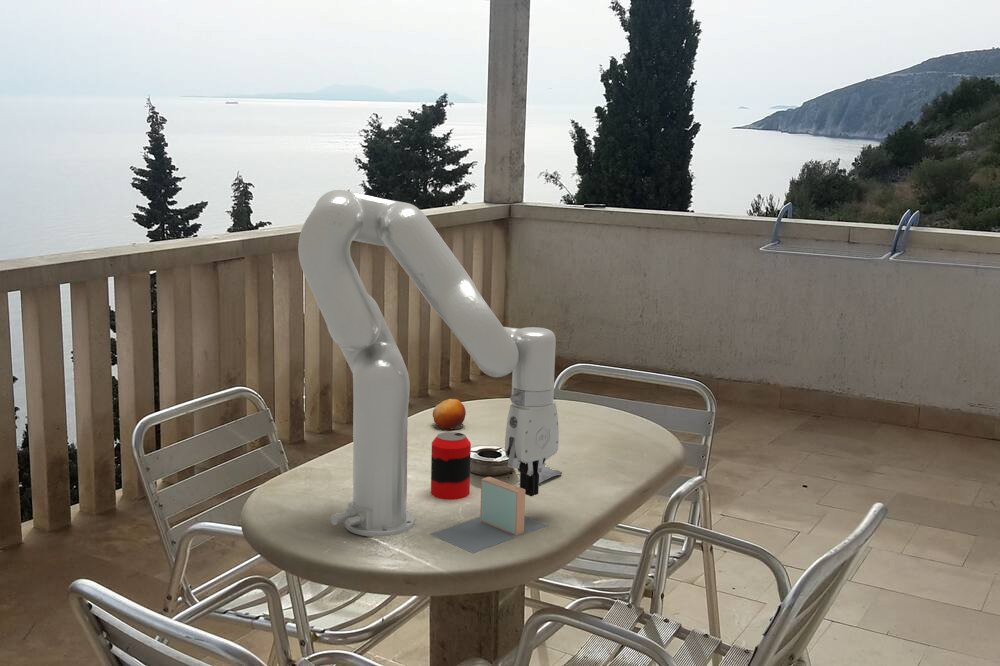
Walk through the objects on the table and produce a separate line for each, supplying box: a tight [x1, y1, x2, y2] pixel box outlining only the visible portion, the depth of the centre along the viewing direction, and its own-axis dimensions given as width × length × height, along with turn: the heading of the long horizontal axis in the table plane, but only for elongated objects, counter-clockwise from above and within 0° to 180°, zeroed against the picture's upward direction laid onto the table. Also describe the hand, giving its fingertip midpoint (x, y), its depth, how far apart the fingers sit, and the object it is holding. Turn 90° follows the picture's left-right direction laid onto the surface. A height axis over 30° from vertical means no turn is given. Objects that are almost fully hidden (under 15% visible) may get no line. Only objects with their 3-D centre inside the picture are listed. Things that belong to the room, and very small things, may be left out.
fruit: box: [432, 398, 467, 431], centre depth 243 cm, size 8×8×8 cm
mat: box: [429, 515, 549, 554], centre depth 179 cm, size 19×11×1 cm, turn 136°
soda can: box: [430, 431, 472, 501], centre depth 196 cm, size 8×8×12 cm
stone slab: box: [514, 461, 562, 487], centre depth 210 cm, size 18×2×10 cm
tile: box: [479, 476, 526, 535], centre depth 180 cm, size 2×9×8 cm, turn 45°
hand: (528, 493), depth 185 cm, fingers closed
